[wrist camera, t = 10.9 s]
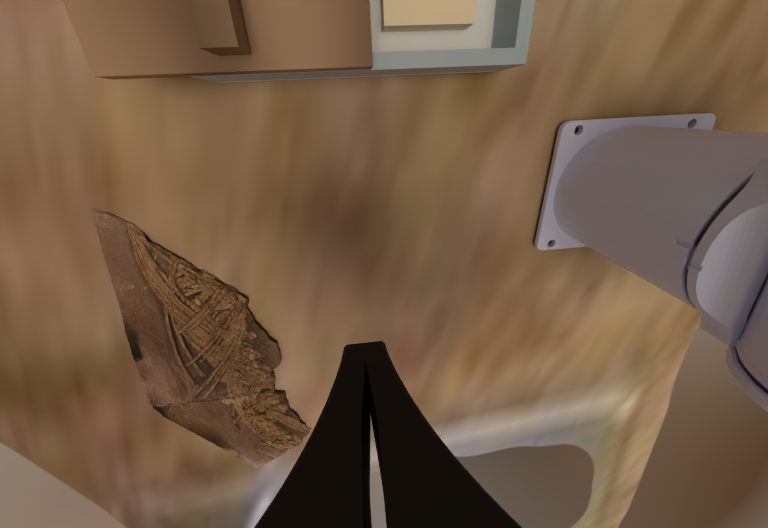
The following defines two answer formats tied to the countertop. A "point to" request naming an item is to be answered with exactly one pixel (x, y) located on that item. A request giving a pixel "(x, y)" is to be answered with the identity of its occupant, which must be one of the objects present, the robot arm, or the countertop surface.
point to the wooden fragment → (198, 348)
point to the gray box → (433, 39)
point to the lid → (221, 36)
